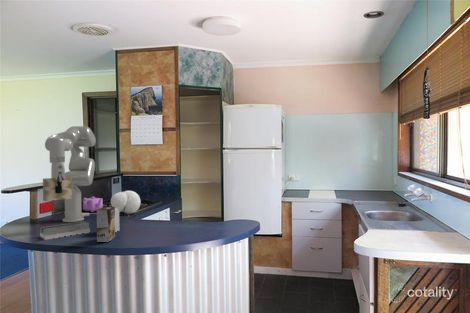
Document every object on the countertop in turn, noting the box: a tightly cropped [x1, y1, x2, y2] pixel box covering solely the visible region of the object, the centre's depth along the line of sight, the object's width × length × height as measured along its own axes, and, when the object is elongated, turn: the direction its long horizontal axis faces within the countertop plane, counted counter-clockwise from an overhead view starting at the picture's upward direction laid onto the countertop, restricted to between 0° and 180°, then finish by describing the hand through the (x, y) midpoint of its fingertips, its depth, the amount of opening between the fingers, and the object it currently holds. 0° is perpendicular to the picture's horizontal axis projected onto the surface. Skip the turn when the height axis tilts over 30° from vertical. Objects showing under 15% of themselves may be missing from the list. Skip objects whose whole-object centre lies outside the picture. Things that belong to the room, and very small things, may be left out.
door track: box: [39, 220, 91, 241], centre depth 178 cm, size 22×9×5 cm, turn 133°
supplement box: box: [115, 209, 121, 233], centre depth 182 cm, size 7×7×13 cm
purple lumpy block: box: [82, 196, 104, 213], centre depth 246 cm, size 15×13×11 cm
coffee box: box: [96, 206, 116, 243], centre depth 165 cm, size 9×6×16 cm
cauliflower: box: [110, 190, 141, 215], centre depth 234 cm, size 20×18×16 cm
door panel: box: [42, 177, 72, 202], centre depth 187 cm, size 14×3×12 cm, turn 132°
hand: (57, 192), depth 187 cm, fingers closed on door panel, 3 cm apart
